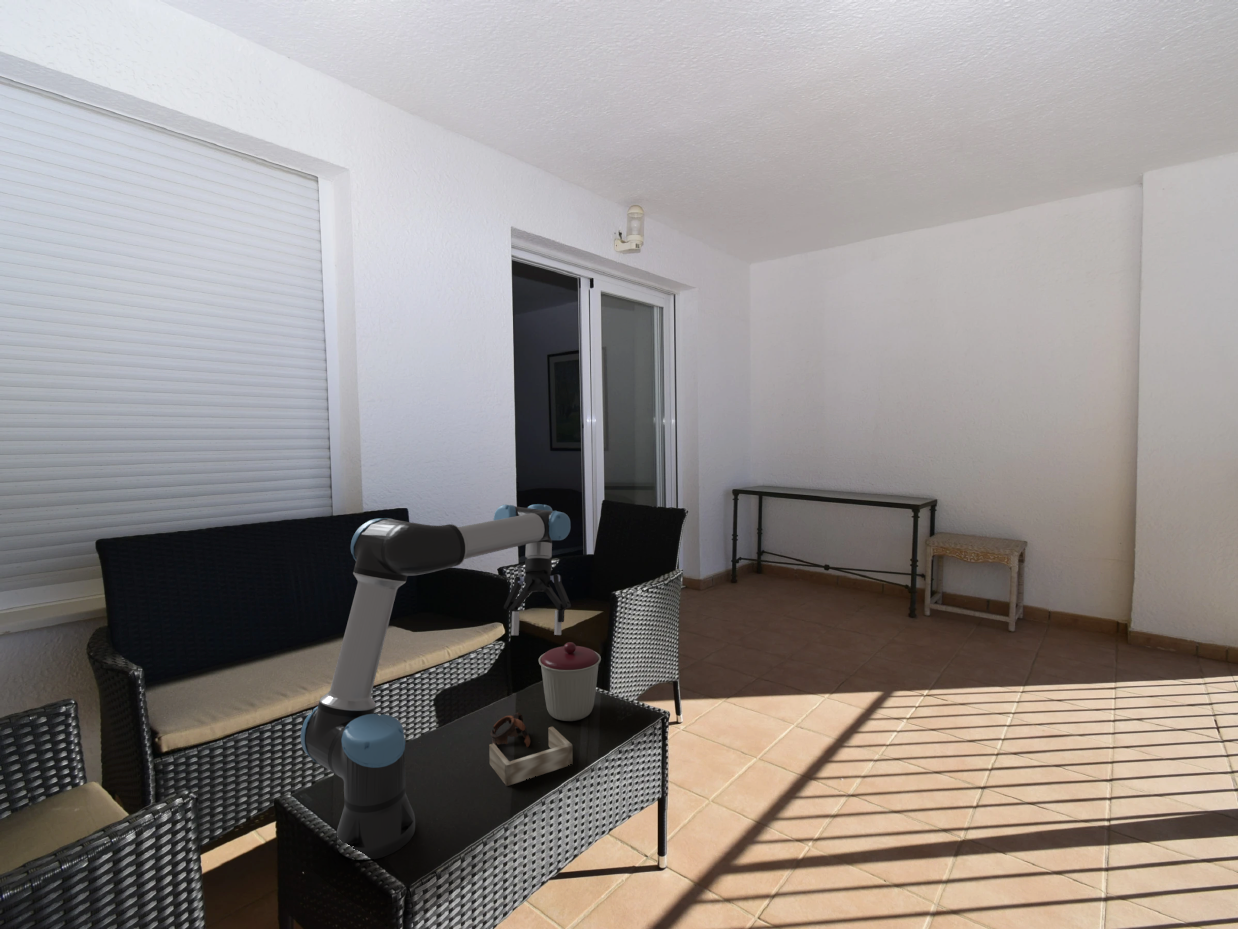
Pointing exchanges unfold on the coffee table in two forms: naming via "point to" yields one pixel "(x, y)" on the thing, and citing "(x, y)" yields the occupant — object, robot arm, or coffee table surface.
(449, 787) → the coffee table surface
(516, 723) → the pottery mug
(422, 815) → the coffee table surface
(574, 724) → the coffee table surface
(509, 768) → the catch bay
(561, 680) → the canister
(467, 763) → the coffee table surface
